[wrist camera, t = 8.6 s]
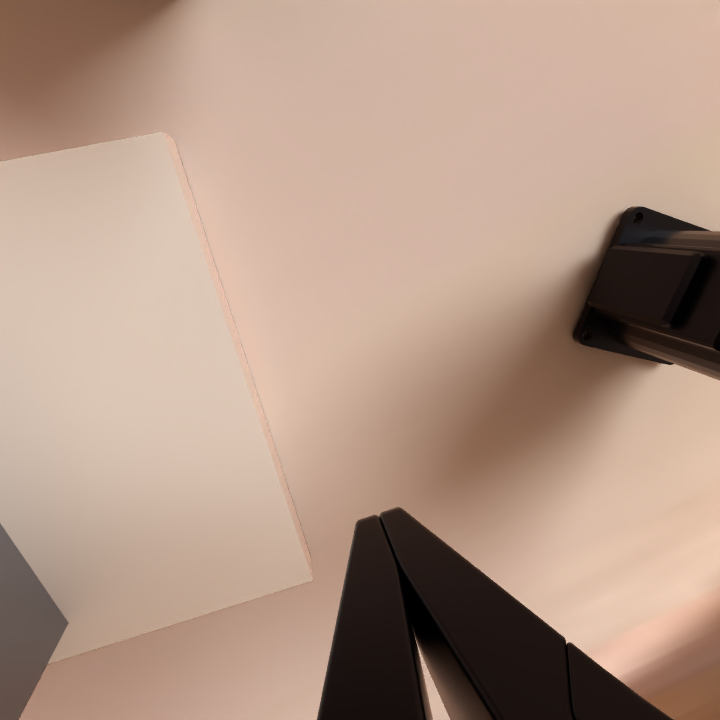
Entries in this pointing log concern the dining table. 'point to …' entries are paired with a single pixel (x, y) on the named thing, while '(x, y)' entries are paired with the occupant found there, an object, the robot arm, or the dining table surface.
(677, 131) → the dining table surface
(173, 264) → the grey block on base
